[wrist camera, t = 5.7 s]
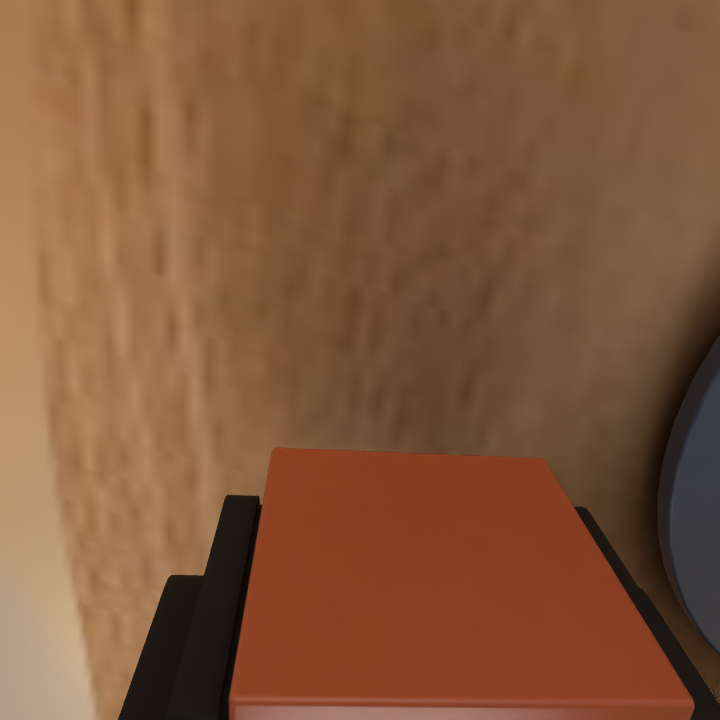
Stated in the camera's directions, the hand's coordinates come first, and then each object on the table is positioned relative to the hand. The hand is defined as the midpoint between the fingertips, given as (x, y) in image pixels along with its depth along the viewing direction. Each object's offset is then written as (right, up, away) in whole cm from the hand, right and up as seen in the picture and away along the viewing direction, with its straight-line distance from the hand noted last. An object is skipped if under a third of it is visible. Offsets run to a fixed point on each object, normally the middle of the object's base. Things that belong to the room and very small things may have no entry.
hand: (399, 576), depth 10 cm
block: (0, 0, 0) cm, 0 cm away
